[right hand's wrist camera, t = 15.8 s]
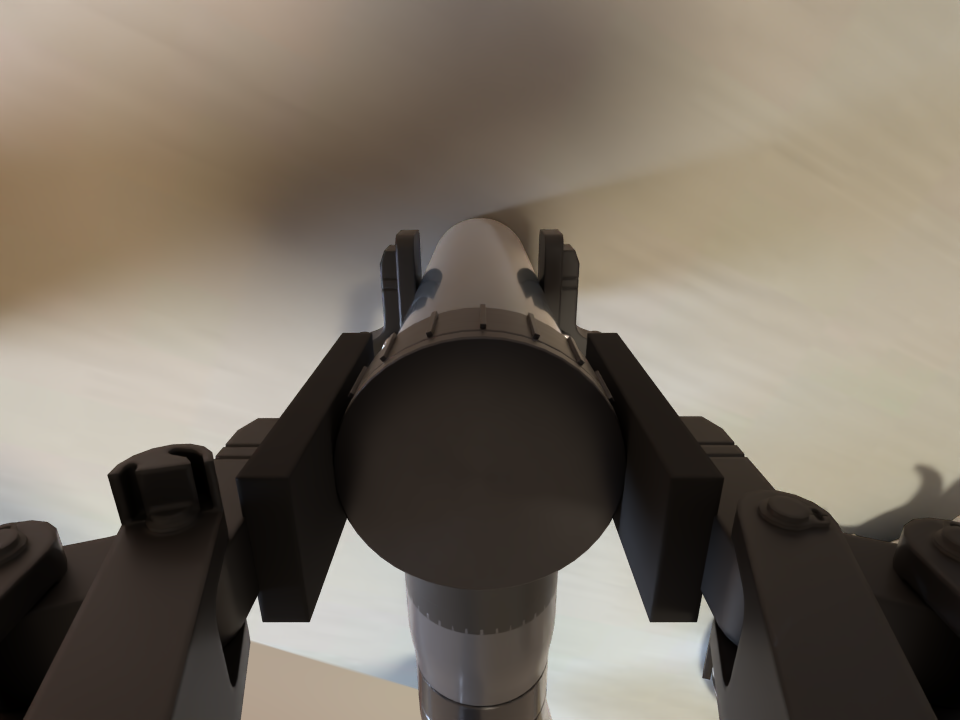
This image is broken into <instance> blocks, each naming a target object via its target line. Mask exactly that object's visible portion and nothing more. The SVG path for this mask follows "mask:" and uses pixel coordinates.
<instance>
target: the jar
mask: <svg viewBox="0 0 960 720" xmlns="http://www.w3.org/2000/svg"><path fill="white" fill-rule="evenodd" d="M480 304H486V308H498V309H504V310H509V311H514V312H518V313H521V314H524V315H528V313H532V314H534V318H535V319H537V320H539V321H541V322H543V323H545V324H547V325H549V326H551V327H552V328H554V329H555V330H557V331H558V332H559V333H561V334H562V332H561V330H560V328H559V325H558V323H557V321H556V319H555V316H554V314H553V312H552V310H551V307H550V305H549V303H548V301H547V298H546V296H545V294H544V292H543V289H542V287H541V285H540V283H539V280H538V278H537V276H536V274H535V272H534V269H533V267H532V265H531V263H530V260H529V258H528V256H527V254H526V251H525V249H524V247H523V245H522V243H521V241H520V239H519V238H518V236H517V235H516V234H515V233H514V232H513V231H512V230H511V229H510V228H509V227H507V226H506V225H504V224H502V223H500V222H498V221H495V220H492V219H487V218H472V219H468V220H465V221H462V222H460V223H458V224H456V225H454V226H453V227H451V228H450V229H449V230H448V231H447V232H446V233H445V234H444V235H443V236H442V238H441V239H440V241H439V242H438V244H437V247H436V249H435V251H434V253H433V256H432V258H431V260H430V262H429V265H428V267H427V269H426V271H425V274H424V276H423V278H422V280H421V283H420V285H419V287H418V289H417V292H416V294H415V296H414V298H413V301H412V303H411V305H410V307H409V310H408V312H407V314H406V316H405V319H404V321H403V323H402V325H401V328H400V330H399V332H398V334H399V333H400V332H402V331H403V330H405V329H406V328H408V327H410V326H411V325H413V324H414V323H417V322H419V321H421V320H423V319H425V318H428V317H430V316H431V313H432V312H434V311H437V313H438V314H439V313H442V312H446V311H450V310H456V309H462V308H477V307H480ZM398 334H397V335H398ZM562 335H563V334H562Z"/></svg>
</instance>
